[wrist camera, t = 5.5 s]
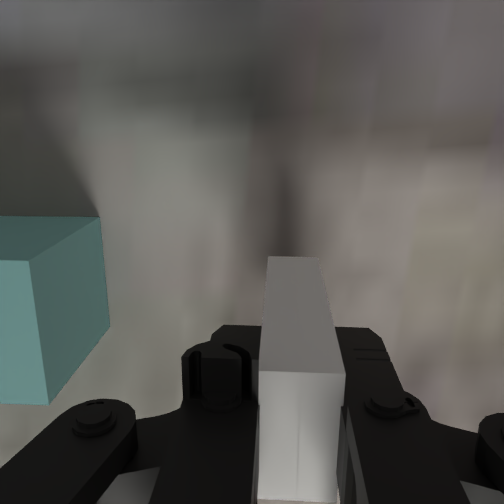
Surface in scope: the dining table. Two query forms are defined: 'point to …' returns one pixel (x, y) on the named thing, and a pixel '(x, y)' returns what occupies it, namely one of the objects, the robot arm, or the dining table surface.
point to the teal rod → (48, 303)
